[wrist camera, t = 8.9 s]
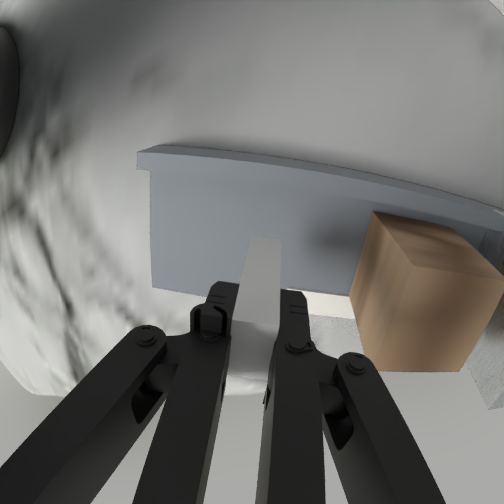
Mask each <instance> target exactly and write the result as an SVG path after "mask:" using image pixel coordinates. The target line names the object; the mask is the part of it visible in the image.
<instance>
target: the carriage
mask: <svg viewBox="0 0 504 504" xmlns="http://www.w3.org/2000/svg"><path fill="white" fill-rule="evenodd" d="M503 292H504V276H503V275H502V274H501V273H500V272H499V271H498V270H497V269H496V268H495V267H494V266H493V265H492V264H491V263H490V262H489V261H488V260H486V259H485V258H484V257H483V256H482V255H481V254H480V253H479V252H478V251H477V250H476V249H475V248H474V247H473V246H472V245H470V244H469V243H468V242H467V241H466V240H465V239H464V238H463V237H462V236H460V235H459V234H458V233H457V232H456V231H455V230H454V229H452V228H450V227H446V226H442V225H437V224H433V223H428V222H424V221H419V220H415V219H410V218H405V217H400V216H396V215H391V214H386V213H381V212H376V211H372V214H371V218H370V222H369V226H368V230H367V234H366V238H365V241H364V245H363V249H362V252H361V256H360V259H359V263H358V266H357V270H356V273H355V276H354V280H353V283H352V286H351V289H350V293H349V298H350V301H351V305H352V308H353V312H354V315H355V319H356V323H357V327H358V330H359V334H360V338H361V342H362V346H363V350H364V354H365V356H366V357H367V358H369V359H370V360H371V361H372V363H373V364H374V366H375V367H376V369H377V371H388V372H389V371H390V372H459V371H460V369H461V368H462V366H463V365H464V363H465V362H466V360H467V359H468V357H469V355H470V354H471V352H472V350H473V349H474V347H475V345H476V344H477V342H478V340H479V339H480V337H481V335H482V333H483V332H484V330H485V328H486V326H487V324H488V322H489V321H490V319H491V317H492V315H493V313H494V311H495V309H496V307H497V305H498V303H499V301H500V299H501V297H502V295H503Z"/></svg>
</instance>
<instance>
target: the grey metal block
mask: <svg viewBox="0 0 504 504" xmlns="http://www.w3.org/2000/svg"><path fill="white" fill-rule="evenodd" d="M493 210H494V209H493ZM495 211H496V212H498V213H499V214H501V215H502V216H504V213H503V212H500V211H497V210H495ZM478 252H479V253H480V254H481V255H482V256H483V257H484V258H485V259H486V260H488V261H489V262H490V263H491V264H492V265H493V266H494V267H495V268H496V269H497V270H498V271H499V272H500V273H501V274H502V275H503V276H504V229H503V232H499V231H495V230H492V229H488V228H485V231H484V234H483V237H482V240H481V243H480V245H479V248H478ZM465 363H466V365H467V367H468V369H469V371H470V373H471V375H472V377H473V379H474V381H475V383H476V385H477V387H478V389H479V391H480V393H481V395H482V398H483V400H484V402H485V404H486V406H487V409H488V410H491V409H496V408H502V407H504V292H503V295H502V297H501V299H500V301H499V303H498V305H497V307H496V309H495V311H494V313H493V315H492V317H491V319H490V321H489V322H488V324H487V326H486V328H485V330H484V332H483V333H482V335H481V337H480V339H479V340H478V342H477V344H476V345H475V347H474V349H473V350H472V352H471V354H470V355H469V357H468V359H467V360H466V362H465Z"/></svg>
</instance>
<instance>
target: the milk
mask: <svg viewBox="0 0 504 504" xmlns="http://www.w3.org/2000/svg"><path fill="white" fill-rule="evenodd" d="M489 1H490V2H491V3H492V4H493V5H494V6H495V7H496V8H497V9H498V10H499V11H500V12H501V13H502V14H503V15H504V0H489Z"/></svg>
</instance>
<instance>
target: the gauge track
mask: <svg viewBox="0 0 504 504" xmlns="http://www.w3.org/2000/svg"><path fill="white" fill-rule="evenodd" d="M137 170H150V246H151V271H152V287H154V288H159V289H165V290H170V291H176V292H181V293H187V294H193V295H198V296H204V297H207V296H208V293H209V290H210V288H211V286H212V285H213V284H215V283H216V282H217V281H224V282H231V283H238V284H240V281H241V277H242V272H243V268H244V263H245V259H246V255H247V250H248V246H249V241H250V237H251V236H258V237H265V238H273V239H280V240H281V276H280V289H287V290H295V291H301V292H302V293H303V294H304V296H305V297H306V299H307V305H308V314H315V315H323V316H332V317H340V318H349V319H355V315H354V312H353V308H352V305H351V301H350V298H349V293H350V289H351V286H352V283H353V280H354V276H355V273H356V270H357V266H358V263H359V259H360V256H361V252H362V249H363V245H364V241H365V238H366V234H367V230H368V226H369V222H370V218H371V214H372V211H376V212H381V213H386V214H391V215H396V216H400V217H405V218H410V219H415V220H419V221H424V222H428V223H433V224H437V225H442V226H446V227H450V228H452V229H454V230H455V231H456V232H457V233H458V234H459V235H460V236H462V237H463V238H464V239H465V240H466V241H467V242H468V243H469V244H470V245H472V246H473V247H474V248H475V249H476V250H477V251H478V248H479V245H480V243H481V240H482V237H483V234H484V231H485V228H488V229H492V230H495V231H499V232H503V229H504V216H502V215H501V214H499V213H498V212H496V211H495V210H497V211H500V212H503V213H504V210H502V209H499V208H496V207H493V206H490V205H487V204H484V203H481V202H478V201H474V200H471V199H468V198H465V197H461V196H458V195H455V194H451V193H448V192H444V191H441V190H437V189H433V188H430V187H426V186H422V185H418V184H414V183H410V182H406V181H402V180H398V179H394V178H389V177H385V176H381V175H376V174H372V173H367V172H362V171H357V170H352V169H347V168H342V167H337V166H332V165H326V164H320V163H315V162H309V161H303V160H296V159H290V158H283V157H276V156H269V155H262V154H254V153H246V152H237V151H228V150H218V149H207V148H196V147H183V146H168V145H157V146H154V147H151V148H148V149H145V150H142V151H139V152H137ZM493 209H494V210H493Z"/></svg>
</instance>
